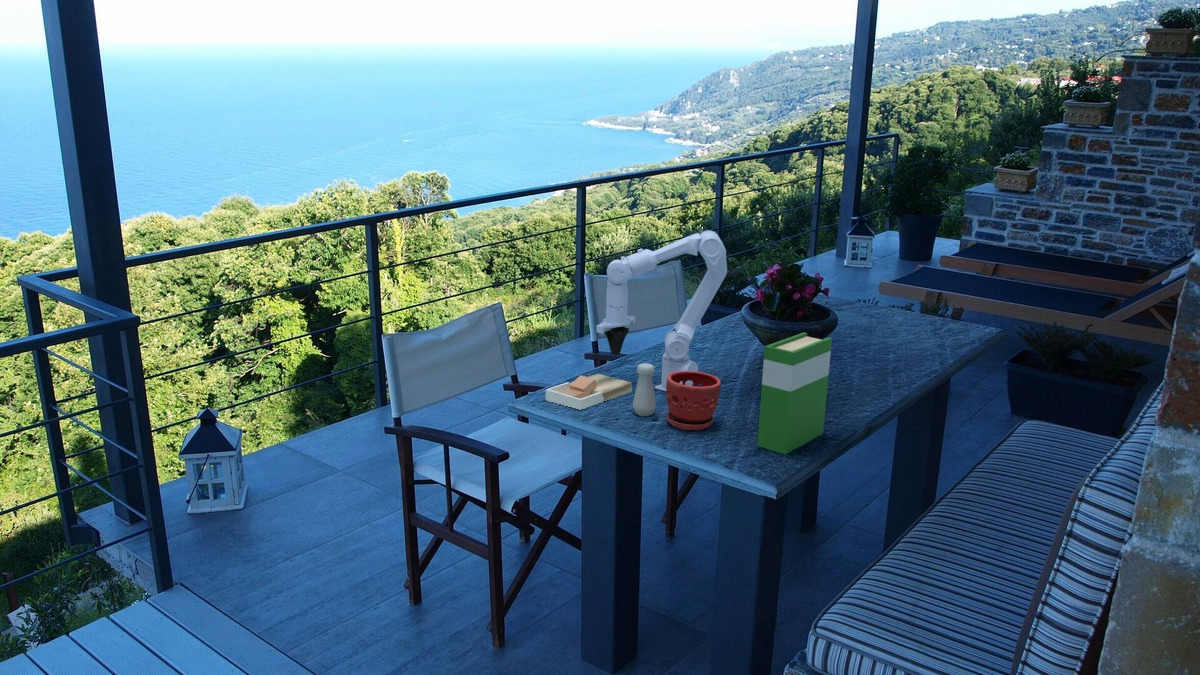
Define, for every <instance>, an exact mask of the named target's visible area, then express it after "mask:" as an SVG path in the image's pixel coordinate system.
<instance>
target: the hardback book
mask: <svg viewBox="0 0 1200 675" xmlns="http://www.w3.org/2000/svg"><path fill="white" fill-rule="evenodd" d="M832 340H833V338H832V337H826V338H823V339H820V338H817V337H811V336H808V332H801V333H798V334H796V335H793V336H790V337H788V338H785V339H781V340H779V341H776V342H773V343H770V344H768V345H764V350H763V352H764V353H763V366H762V377H761V378H762V379H761V393H760V394H761V395H760V407H759V419H758V421H759V422H758V434H757V447H760V448H764V449H766V450H769V451H774V452H777V453H779V454H781V455H782V454H783V455H788V454H789V453H790V452H793V451H795V450H797V449H799V448H800V447H802V446H804V445H806V444H808V443H810V442H811V441H810V440H812V439H814V438H816V437H817V436H819V435H821V434H822V433H823V434H824V431H825V430H824V428H825V418H826V417H825V416H826V408H827V396H828V395H827V394H828V385H829V376H830V374H829V373H830V363H831V354H832V353H831V352H832V344H833V342H832ZM821 436H822V435H821ZM819 437H820V436H819ZM817 438H818V437H817ZM817 438H816V439H817ZM814 440H815V439H814ZM809 441H810V442H809ZM812 441H813V440H812ZM807 442H808V443H807ZM805 443H806V444H805ZM803 444H804V445H803ZM798 447H799V448H798ZM796 448H797V449H796ZM794 449H795V450H794ZM792 450H793V451H792Z"/></svg>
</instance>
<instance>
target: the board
mask: <svg viewBox="0 0 1200 675" xmlns="http://www.w3.org/2000/svg"><path fill="white" fill-rule="evenodd" d="M588 377H589V378H593V379H595V380H596V384H597V388H596V389H594V390H593V391H592V392H591V394H595V393H598V392H602V397H604V401H606V402H608V401H607V400H609V401H611V400H614V399H617V398H619V397H621V395H622V396H623V395H626V394H629V393H632V392H633V382H630V381H626V380H624V379H619V378H615V377H612V376H608V375H604V374H601V373H596V374H593V375H589V376H588ZM568 383H569V385H570V384H571V383H572V382H568ZM618 396H619V397H618ZM613 398H614V399H613ZM610 399H611V400H610Z"/></svg>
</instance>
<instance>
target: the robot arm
mask: <svg viewBox="0 0 1200 675" xmlns="http://www.w3.org/2000/svg"><path fill="white" fill-rule="evenodd" d="M698 252H699V254H700V255H701V256H702V258H703V260H704V261H705V264H706V268H707V270H706V272H705V275H704V276H703V278H702V280H701V282H700V283H699V285H698V287H697V289H696V290H695V292H694V293H693V296H692V298H691V299H690V301H689V303H688V305H687V306H686V308H685V309H684V312H683V313H682V315H681V317H680V319H679V320H678V322H677V321H676V322H677V323H675V325H674V326H673V328H672V329H670V330H669V331H668V332H666V334H665V335H664V338H663V344H664V346H665V349H664V350H665V351H664V353H663V354H662V358H661V360H662V361H661V363H662V365H661V384H658V385H655V386H654V390H655V389H656V390H660V391H662V392H663V391H664V392H666V383H667V377H668V375H669V374H671V373H674V372H679V371H695V372H699V366H698V363H697V362H695V361H693V360H691V359H690V354H689V352H690V345H691V342H692V340H693V338H694V335H695V334H694V333H695V330H696V329H697V327H698V325H699V324H700V322H701V320H702V318H703V317H704V315H705V313H706V311H707V310H708V307H709V306H710V305H711V303H712V302H713V301H712V300H713V299H714V297H715V295H716V294H717V293H718V290H719V288H720V287H721V284H722V283H723V281H724V279H725V278H726V276H727V274H728V265H727V249H726V247H725V245H724V243H723V241H722V239H721V238H720V236H719V235H718V233H717V232H716V231H713V230H704V231H702V232H701V233H699V232H698V233H693V234H691V235H688V236H686V237H684V238H681V239H679V240H677V241H674V242H672V243H670V244H667V245H665V246H663V247H660V248H658V249H656V250H654V251H653V250H650V249H648V248H646V249H645V248H644V249H643V248H640V249H637V252H636V253H633V254H630V255H627V256H624V255H623V256H621V257H620V259H614V260H612V261H611V262H610V263H609V264H608V265H607V268H606V276H607V282H606V286H607V288H606V294H605V295H606V298H605V299H606V302H605V304H606V305H605V307H606V309H605V318H602V319H603V320H602V322H601V323H599V324H597V325H596V333H599V334H604V335H605V337H606V339H607V342H608V346H609V349H610V354H611V355H615V356H619V355H620V354H621V351H622V347H623V344H624V342H625V339H626V337H627V335H628V334H629V332H630V329H629V327H626V326H629V325H635V324H636V319H637V318H636V316H632V315H628V304H629V303H628V301H629V299H628V298H629V288H628V280H629V278H635V277H638V276H640V275H642V274H643V275H644V274H645V273H648V272H651V271H653V270H655V269H656V266H657V264H658V263H661V262H664V261H667V260H669V259H672V258H676V257H679V256H681V255H684V254H688V255H693V256H698ZM682 383H683V382H682V381H681V382H680V384H682ZM685 385H687V386H693V382H692V381H691V380H688V381H686V383H685Z"/></svg>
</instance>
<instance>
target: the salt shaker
mask: <svg viewBox="0 0 1200 675" xmlns="http://www.w3.org/2000/svg"><path fill="white" fill-rule="evenodd" d="M655 369H656V368H655V366H654V365H653V364H651V363H646V362H645V363H644V362H643V363H640V364H638V365H637V368H636V373H637V374H638V379H637V384H636V387H635V393H634V397H633V402H632V408H633V411H634V413H635V415H637V414H638V415H640V416H639V417H644V416H647V417H650V416H649V415H651V416H653V414H654V411H655V409H656V406H657V404H656V397H655V391H654V390H655V388H654V384H653V383H654V382H653V375H655V374H654V373H655V371H656V370H655ZM638 415H637V416H638Z"/></svg>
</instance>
